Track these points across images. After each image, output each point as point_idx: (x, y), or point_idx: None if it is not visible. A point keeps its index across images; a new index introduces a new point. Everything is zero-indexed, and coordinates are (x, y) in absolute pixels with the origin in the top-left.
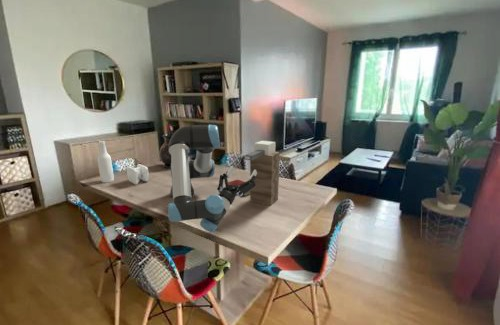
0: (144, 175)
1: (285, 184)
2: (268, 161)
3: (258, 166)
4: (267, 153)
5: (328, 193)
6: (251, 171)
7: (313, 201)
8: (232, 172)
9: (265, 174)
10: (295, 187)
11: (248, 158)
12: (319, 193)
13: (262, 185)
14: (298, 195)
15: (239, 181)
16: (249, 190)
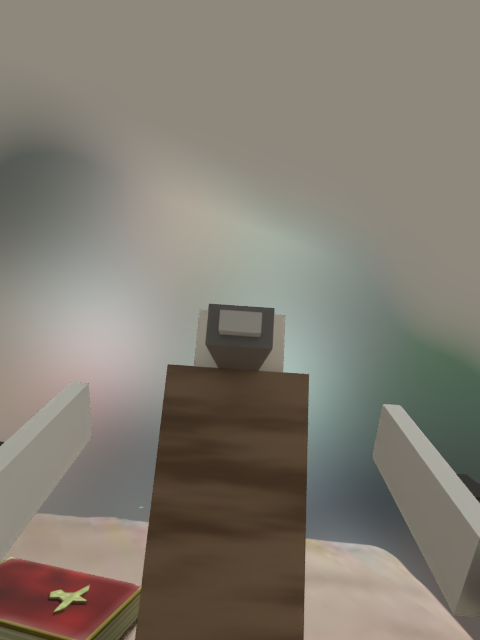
0: None
1: None
2: (286, 408)
3: (216, 446)
4: (277, 363)
5: (400, 569)
6: (162, 486)
7: (427, 629)
8: (64, 472)
9: (263, 498)
10: None
11: (254, 322)
12: (378, 575)
13: (237, 586)
14: (332, 604)
15: (25, 570)
16: (100, 631)
